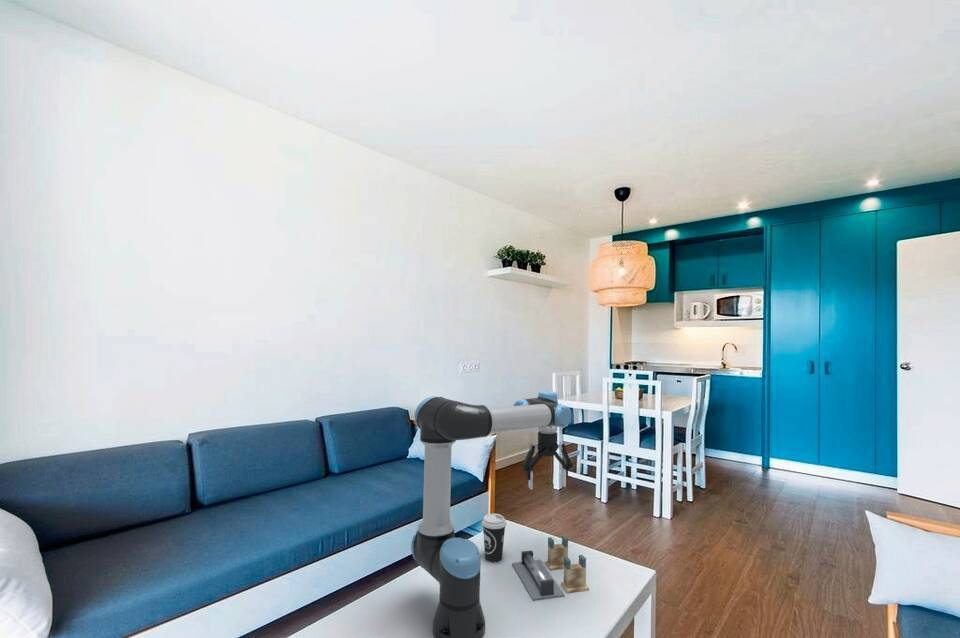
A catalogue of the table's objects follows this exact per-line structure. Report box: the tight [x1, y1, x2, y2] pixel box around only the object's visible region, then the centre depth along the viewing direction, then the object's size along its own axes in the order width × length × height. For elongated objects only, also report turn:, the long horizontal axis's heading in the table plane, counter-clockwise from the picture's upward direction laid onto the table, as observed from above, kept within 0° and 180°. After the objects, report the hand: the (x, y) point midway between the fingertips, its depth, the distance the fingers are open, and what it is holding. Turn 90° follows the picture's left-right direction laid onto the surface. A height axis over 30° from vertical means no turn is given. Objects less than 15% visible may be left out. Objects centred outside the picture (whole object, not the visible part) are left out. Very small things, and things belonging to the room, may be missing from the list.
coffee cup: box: [481, 513, 507, 563], centre depth 162 cm, size 10×10×15 cm
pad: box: [511, 559, 566, 602], centre depth 148 cm, size 11×22×1 cm, turn 13°
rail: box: [520, 550, 554, 596], centre depth 148 cm, size 20×4×4 cm, turn 13°
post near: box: [560, 554, 590, 594], centre depth 144 cm, size 8×5×10 cm, turn 103°
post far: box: [544, 535, 569, 571], centre depth 157 cm, size 8×5×10 cm, turn 103°
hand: (547, 487), depth 163 cm, fingers open, 13 cm apart
